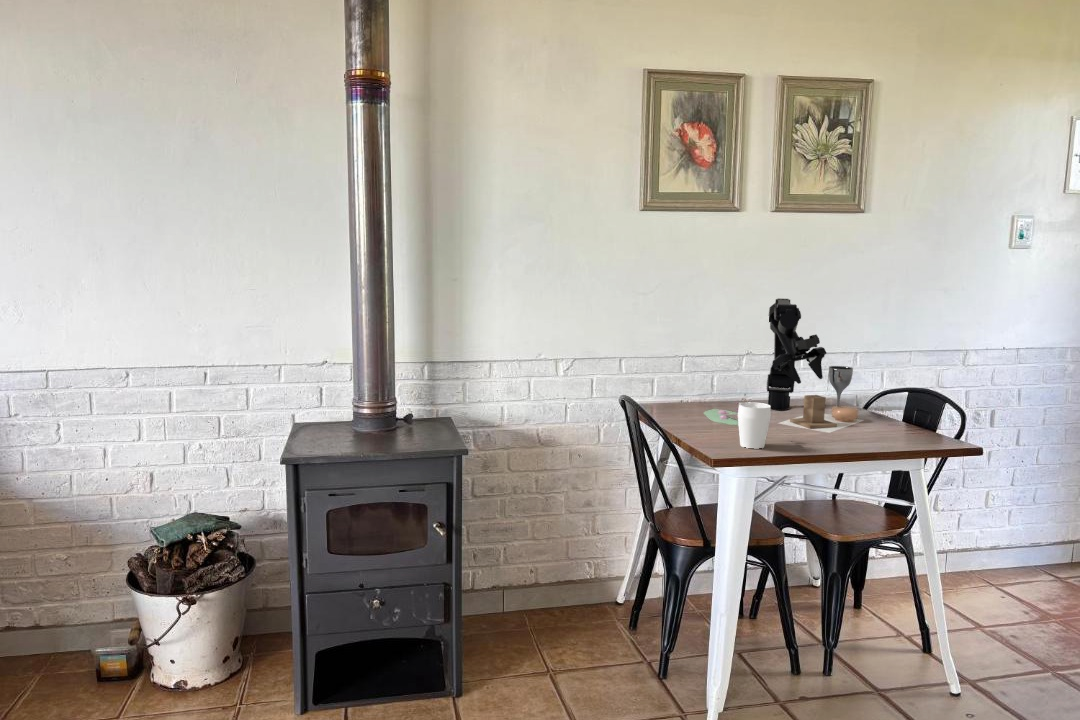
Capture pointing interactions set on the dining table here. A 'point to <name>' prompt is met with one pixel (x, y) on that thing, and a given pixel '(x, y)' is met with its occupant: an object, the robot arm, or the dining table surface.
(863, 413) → the dining table surface
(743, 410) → the cup
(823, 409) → the lid
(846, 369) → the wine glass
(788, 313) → the robot arm
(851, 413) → the bowl
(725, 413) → the plant
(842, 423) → the mat
